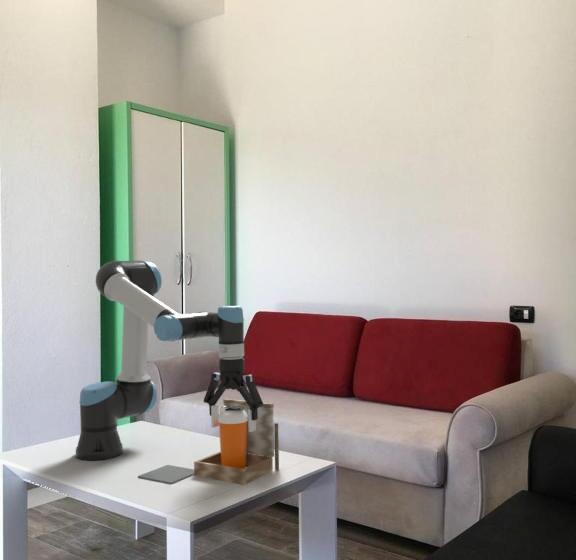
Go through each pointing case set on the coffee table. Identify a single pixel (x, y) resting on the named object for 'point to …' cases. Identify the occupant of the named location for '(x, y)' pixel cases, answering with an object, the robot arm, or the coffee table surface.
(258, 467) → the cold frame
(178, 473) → the slate coaster
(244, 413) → the shaker bottle
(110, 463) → the coffee table surface
